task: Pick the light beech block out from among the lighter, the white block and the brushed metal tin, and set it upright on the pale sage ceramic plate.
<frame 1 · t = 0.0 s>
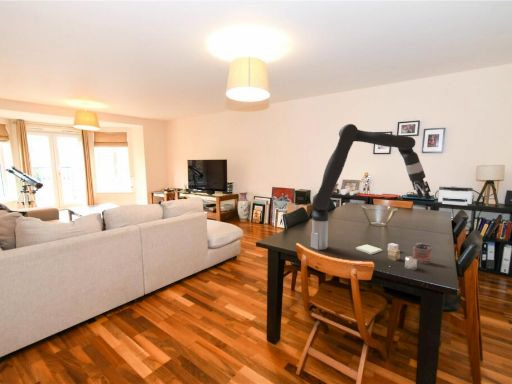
hand: (424, 198, 141), 31 cm above the table, tool tilted 20°, fingers open, 8 cm apart
lighter: (421, 262, 131), on the table
beech block: (393, 258, 136), on the table
plate: (368, 250, 149), on the table
metal tin: (410, 267, 124), on the table
white block: (392, 251, 147), on the table
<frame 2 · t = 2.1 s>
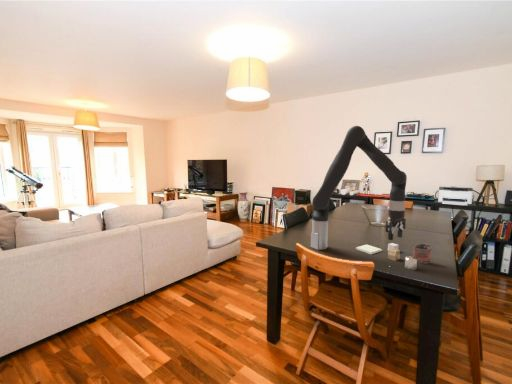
hand: (395, 238, 135), 11 cm above the table, tool pointing down, fingers open, 8 cm apart
nothing on the table moved.
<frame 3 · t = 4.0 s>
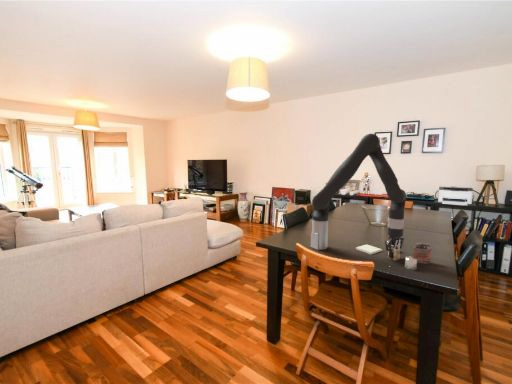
hand: (393, 257, 136), 1 cm above the table, tool pointing down, fingers closed on beech block, 4 cm apart
beech block: (393, 258, 136), on the table, touching gripper
everything else where it was.
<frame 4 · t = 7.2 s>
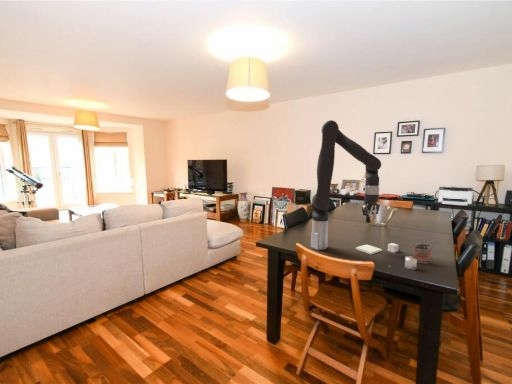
hand: (370, 222, 146), 17 cm above the table, tool pointing down, fingers closed on beech block, 4 cm apart
beech block: (370, 223, 147), point 16 cm above the table, touching gripper
everything else where it was.
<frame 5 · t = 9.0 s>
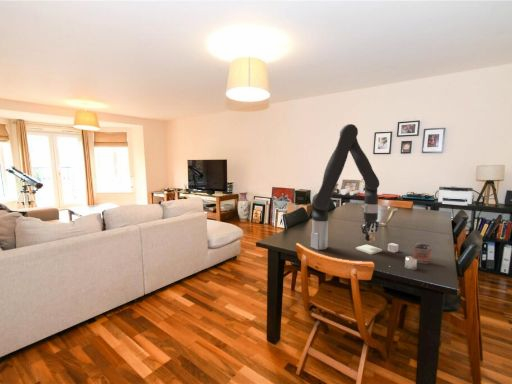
hand: (369, 239, 148), 6 cm above the table, tool pointing down, fingers closed on beech block, 4 cm apart
beech block: (369, 241, 148), point 6 cm above the table, touching gripper
everything else where it was.
when the fingers open (3 cm above the table, at t = 10.4 s): beech block drops 1 cm, resting on plate.
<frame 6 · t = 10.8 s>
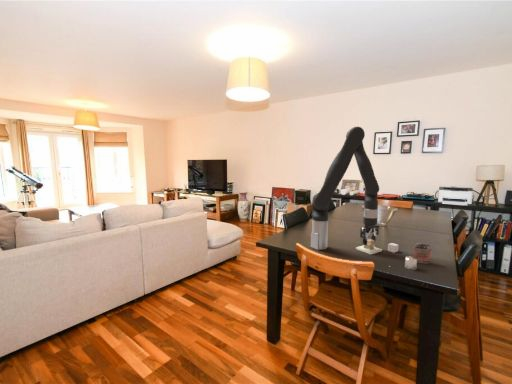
hand: (369, 243, 148), 4 cm above the table, tool pointing down, fingers open, 7 cm apart
beech block: (368, 248, 149), point 1 cm above the table, touching plate
everything else where it was.
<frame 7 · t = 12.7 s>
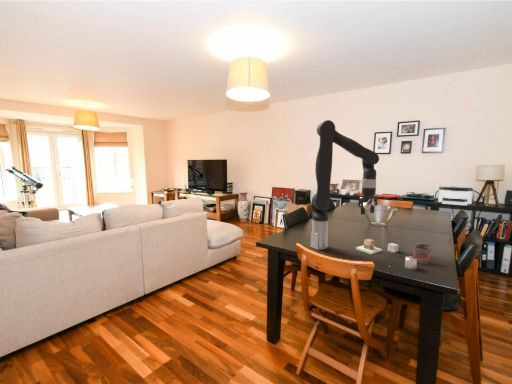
hand: (367, 213, 151), 21 cm above the table, tool pointing down, fingers open, 8 cm apart
nothing on the table moved.
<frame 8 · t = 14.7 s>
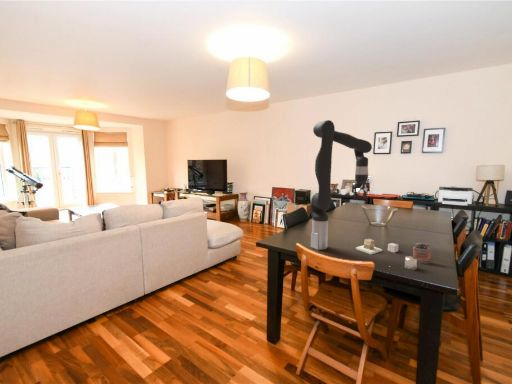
hand: (360, 198, 162), 28 cm above the table, tool pointing down, fingers open, 8 cm apart
nothing on the table moved.
at the end: beech block inside the target area on the plate (0.1 cm from its centre), point 1.2 cm above the plate's base; beech block tilted 0°; the gripper is holding nothing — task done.
